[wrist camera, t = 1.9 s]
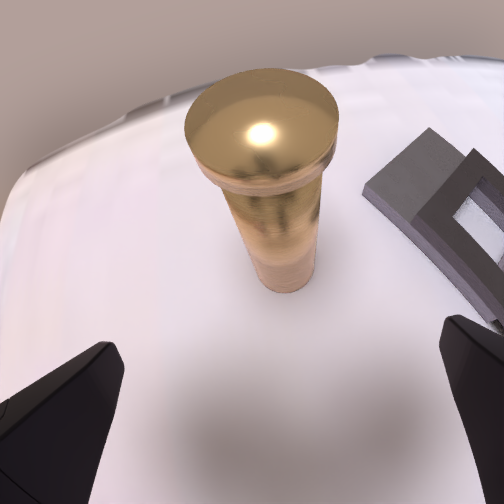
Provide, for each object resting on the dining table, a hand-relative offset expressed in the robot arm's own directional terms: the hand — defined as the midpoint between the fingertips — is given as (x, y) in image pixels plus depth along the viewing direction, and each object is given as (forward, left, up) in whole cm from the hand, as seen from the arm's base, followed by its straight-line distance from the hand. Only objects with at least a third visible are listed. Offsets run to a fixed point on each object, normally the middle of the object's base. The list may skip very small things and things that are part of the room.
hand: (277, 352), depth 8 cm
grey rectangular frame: (-4, -17, -13) cm, 22 cm away
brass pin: (+5, -4, -13) cm, 14 cm away
